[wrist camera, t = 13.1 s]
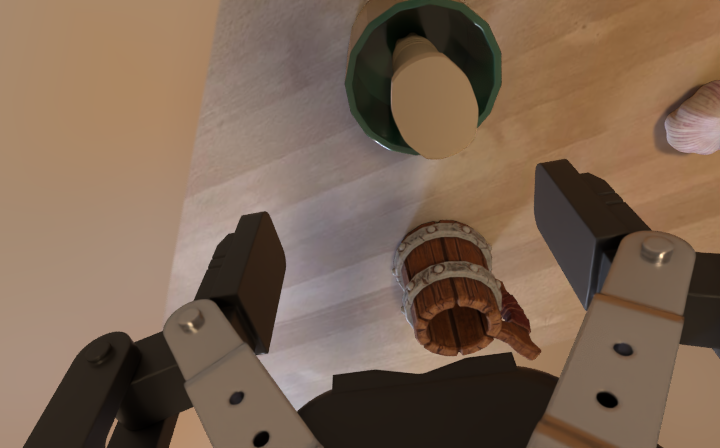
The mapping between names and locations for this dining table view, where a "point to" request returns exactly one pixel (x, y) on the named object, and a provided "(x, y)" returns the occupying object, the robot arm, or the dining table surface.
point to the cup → (438, 25)
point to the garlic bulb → (697, 122)
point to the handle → (431, 99)
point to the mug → (457, 292)
